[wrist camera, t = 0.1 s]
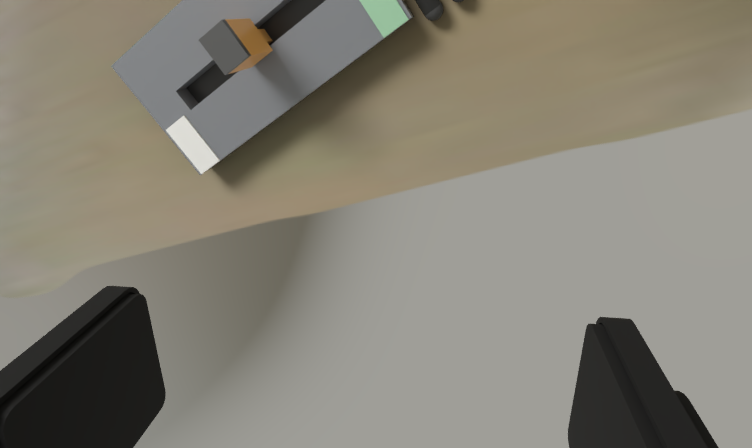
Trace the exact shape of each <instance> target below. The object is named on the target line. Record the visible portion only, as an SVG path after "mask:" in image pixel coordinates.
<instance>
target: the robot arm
mask: <svg viewBox="0 0 752 448" xmlns="http://www.w3.org/2000/svg"><path fill="white" fill-rule="evenodd" d="M164 401H165V387H164V382H163V378H162V373H161V368H160V363H159V359H158V354H157V350H156V344H155V339H154V335H153V330H152V326H151V320H150V316H149V311H148V307H147V301H146V299H145V297H144V296H143V295H141V294H140V293H139V291H138V290H137V289H136V288H134V287H120V286H107V287H105V288H104V289H102V290H101V291H100V292H98V293H97V294H96V295H95V296H93V297H92V298H91V299H90V300H88V301H87V302H86V303H85V304H83V305H82V306H81V307H80V308H78V309H77V310H76V311H75V312H73V313H72V314H71V315H70V316H68V317H67V318H66V319H65V320H63V321H62V322H61V323H60V324H58V325H57V326H56V327H55V328H53V329H52V330H51V331H50V332H48V333H47V334H46V335H45V336H43V337H42V338H41V339H40V340H38V341H37V342H36V343H35V344H33V345H32V346H31V347H30V348H28V349H27V350H26V351H25V352H23V353H22V354H21V355H20V356H18V357H17V358H16V359H15V360H13V361H12V362H11V363H10V364H8V365H7V366H6V367H5V368H3V369H2V370H1V371H0V448H133V447H134V446H135V444H136V443H137V442H138V440H139V439H140V437H141V436H142V435H143V433H144V432H145V431H146V429H147V428H148V426H149V425H150V424H151V422H152V421H153V420H154V418H155V417H156V415H157V414H158V413H159V411H160V410H161V408H162V407H163V404H164ZM568 441H569V447H570V448H718V446H717V444H716V443H715V442H714V440H713V438H712V436H711V435H710V433H709V432H708V430H707V428H706V427H705V425H704V423H703V422H702V420H701V418H700V417H699V415H698V414H697V412H696V410H695V409H694V407H693V405H692V404H691V402H690V401H689V399H688V398H687V397H686V396H685V395H684V394H683V393H682V392H680V391H674V390H673V388H672V387H671V385H670V383H669V381H668V380H667V378H666V377H665V375H664V373H663V372H662V370H661V368H660V366H659V364H658V363H657V361H656V359H655V358H654V356H653V354H652V353H651V351H650V349H649V348H648V346H647V344H646V342H645V341H644V339H643V338H642V336H641V334H640V332H639V331H638V329H637V327H636V325H635V324H634V322H633V321H632V320H631V319H623V318H606V317H600V318H598V320H597V322H596V324H588V325H587V328H586V332H585V338H584V343H583V349H582V355H581V360H580V366H579V371H578V377H577V383H576V388H575V394H574V400H573V405H572V411H571V416H570V422H569V428H568Z"/></svg>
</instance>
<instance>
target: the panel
mask: <svg viewBox="0 0 752 448" xmlns="http://www.w3.org/2000/svg"><path fill="white" fill-rule="evenodd" d="M413 17H414V16H413V14H412V13H411V11H410V10H409V8H408V6H407V5H406V3H405V2H404V0H182V1H181V2H180V3H179V4H178V5H177V6H176V7H175V8H173V9H172V10H171V11H170V12H169V13H168V14H167V15H166V16H165V17H164V18H163V19H162V20H160V21H159V22H158V23H157V24H156V25H155V26H154V27H153V28H152V29H151V30H150V31H149V32H147V33H146V34H145V35H144V36H143V37H142V38H141V39H140V40H139V41H138V42H137V43H135V44H134V45H133V46H132V47H131V48H130V49H129V50H128V51H127V52H126V53H125V54H124V55H122V56H121V57H120V58H119V59H118V60H117V61H116V62H115V63H114V64H113V65H112V66H111V67H112V68H113V69H114V70H115V72H116V73H117V74H118V75H119V76H120V78H121V79H122V80H123V81H124V83H125V84H126V85H127V86H128V87H129V89H130V90H131V91H132V92H133V94H134V95H135V96H136V97H137V99H138V100H139V101H140V102H141V103H142V105H143V106H144V107H145V108H146V110H147V111H148V112H149V113H150V114H151V116H152V117H153V118H154V119H155V121H156V122H157V123H158V124H159V126H160V127H161V128H162V129H163V130H164V132H165V133H166V134H167V135H168V137H169V138H170V139H171V140H172V141H173V143H174V144H175V145H176V146H177V148H178V149H179V150H180V151H181V153H182V154H183V155H184V156H185V157H186V159H187V160H188V161H189V162H190V164H191V165H192V166H193V167H194V168H195V170H196V171H197V172H198V173H199V175H201V174H203V173H204V172H206V171H207V170H209V169H210V168H212V167H213V166H215V165H216V164H217V163H219V162H220V161H221V160H223V159H224V158H225V157H227V156H228V155H229V154H231V153H232V152H233V151H235V150H236V149H237V148H239V147H240V146H241V145H243V144H244V143H245V142H247V141H248V140H249V139H251V138H252V137H253V136H255V135H256V134H257V133H259V132H260V131H262V130H263V129H264V128H266V127H267V126H268V125H270V124H271V123H272V122H274V121H275V120H276V119H278V118H279V117H280V116H282V115H283V114H284V113H286V112H287V111H288V110H290V109H291V108H292V107H294V106H295V105H296V104H298V103H299V102H300V101H302V100H303V99H304V98H306V97H307V96H308V95H310V94H311V93H312V92H314V91H315V90H316V89H318V88H319V87H321V86H322V85H323V84H325V83H326V82H327V81H329V80H330V79H331V78H333V77H334V76H335V75H337V74H338V73H339V72H341V71H342V70H343V69H345V68H346V67H347V66H349V65H350V64H351V63H353V62H354V61H355V60H357V59H358V58H359V57H361V56H362V55H363V54H365V53H366V52H367V51H369V50H370V49H371V48H373V47H374V46H375V45H377V44H378V43H380V42H381V41H382V40H384V39H385V38H386V37H388V36H389V35H390V34H392V33H393V32H394V31H396V30H397V29H398V28H400V27H401V26H402V25H404V24H405V23H406V22H408V21H409V20H410V19H412V18H413ZM247 18H250V19H251V21H252V22H253V23H254V25H255V26H256V27H257V29H265V31H266V32H267V33H268V35H269V36H270V38H271V39H272V40H273V41H272V42H271V43H270V44H269V46H270V47H271V48H272V50H273V51H271V52H270V53H269V54H268V55H267V56H265V57H264V58H263V59H262V60H260V61H259V62H258V63H257V64H255V65H254V66H253V67H251V68H248V69H245V70H241V71H238V72H234V73H231V74H227V75H224V73H223V72H222V71H221V69H220V68H219V67H218V65H217V64H216V63H215V61H214V60H213V59H212V57H211V56H210V55H209V54H208V52H207V51H206V50H205V48H204V47H203V46H202V44H201V43H200V42H199V39H200V38H201V37H202V36H204V35H205V34H206V33H207V32H208V31H209V30H210V29H212V28H213V27H214V26H215V25H216V24H217V23H218V22H220V21H221V20H224V19H247Z"/></svg>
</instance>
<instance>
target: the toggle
mask: <svg viewBox="0 0 752 448" xmlns="http://www.w3.org/2000/svg"><path fill="white" fill-rule="evenodd" d="M272 41H273V40H272V39H271V38H270V36H269V35H268V33H267V32H266V31H265V29H257V27H256V26H255V25H254V23H253V22H252V21H251V19H250V18H247V19H224V20H221V21H220V22H218V23H217V24H216V25H215V26H214V27H213V28H212V29H210V30H209V31H208V32H207V33H206V34H205V35H204V36H202V37H201V38H200V39H199V42H200V43H201V44H202V46H203V47H204V48H205V50H206V51H207V52H208V54H209V55H210V56H211V57H212V59H213V60H214V61H215V63H216V64H217V65H218V67H219V68H220V69H221V71H222V72H223V73H224V75H227V74H231V73H234V72H238V71H241V70H245V69H248V68H251V67H253V66H254V65H255V64H257V63H258V62H259V61H260V60H262V59H263V58H264V57H265V56H267V55H268V54H269V53H270V52H271V51H273V50H272V48H271V47H270V46H269V44H270V43H271V42H272Z"/></svg>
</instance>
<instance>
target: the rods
mask: <svg viewBox="0 0 752 448" xmlns="http://www.w3.org/2000/svg"><path fill="white" fill-rule="evenodd" d="M415 1H416V3H417V4H418V6H419V8H420V9H421V11H422V12H423V14H424V16H425V17H426V18H427V19H428V20H431V21H435V20H437V19H439V18H440V17H441V15H442V13H443V6H442V4H441V2H440V0H415ZM453 1H455V2H461V1H463V0H453Z"/></svg>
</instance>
